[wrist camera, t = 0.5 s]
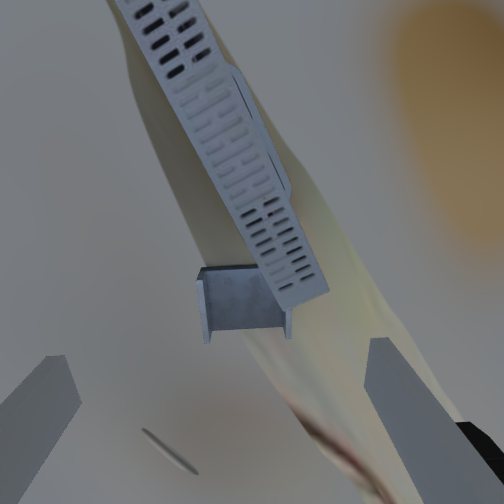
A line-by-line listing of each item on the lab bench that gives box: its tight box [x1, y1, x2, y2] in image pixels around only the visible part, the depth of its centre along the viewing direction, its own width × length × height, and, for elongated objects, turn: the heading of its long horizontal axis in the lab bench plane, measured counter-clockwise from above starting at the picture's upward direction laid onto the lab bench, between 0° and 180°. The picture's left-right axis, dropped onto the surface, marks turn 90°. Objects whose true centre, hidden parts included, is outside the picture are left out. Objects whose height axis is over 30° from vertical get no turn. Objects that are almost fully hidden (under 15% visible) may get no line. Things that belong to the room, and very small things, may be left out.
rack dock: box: [196, 265, 292, 344], centre depth 39 cm, size 10×13×4 cm
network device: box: [114, 0, 330, 312], centre depth 25 cm, size 26×9×20 cm, turn 27°
